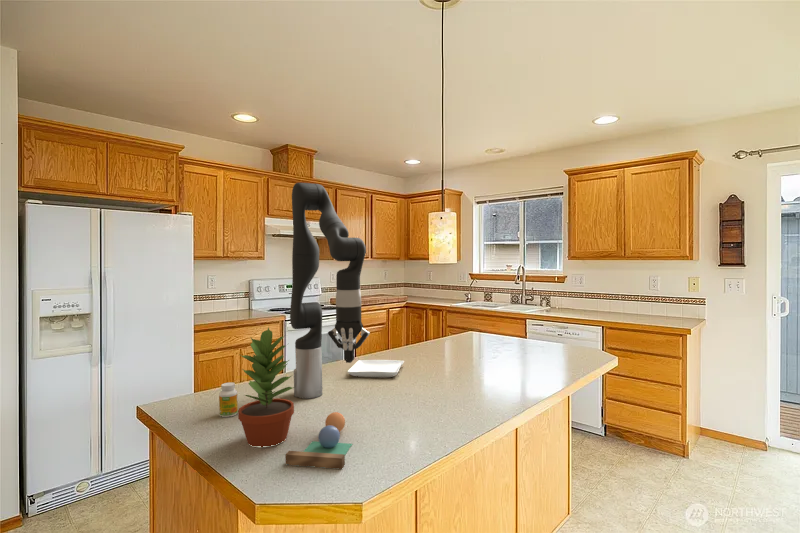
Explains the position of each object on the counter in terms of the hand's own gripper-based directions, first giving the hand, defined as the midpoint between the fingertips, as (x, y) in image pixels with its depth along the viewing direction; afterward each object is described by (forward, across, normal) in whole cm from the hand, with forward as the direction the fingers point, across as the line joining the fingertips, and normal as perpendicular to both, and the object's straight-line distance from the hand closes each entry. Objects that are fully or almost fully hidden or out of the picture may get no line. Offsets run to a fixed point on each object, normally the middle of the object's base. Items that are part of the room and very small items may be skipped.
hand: (349, 362), depth 127 cm
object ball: (+15, 0, -18) cm, 23 cm away
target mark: (+17, 0, -21) cm, 28 cm away
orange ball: (+15, -2, -9) cm, 17 cm away
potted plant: (+18, -18, -17) cm, 30 cm away
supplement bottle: (+18, -40, -1) cm, 44 cm away
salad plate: (+19, -6, +54) cm, 58 cm away
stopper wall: (+17, 0, -28) cm, 33 cm away
